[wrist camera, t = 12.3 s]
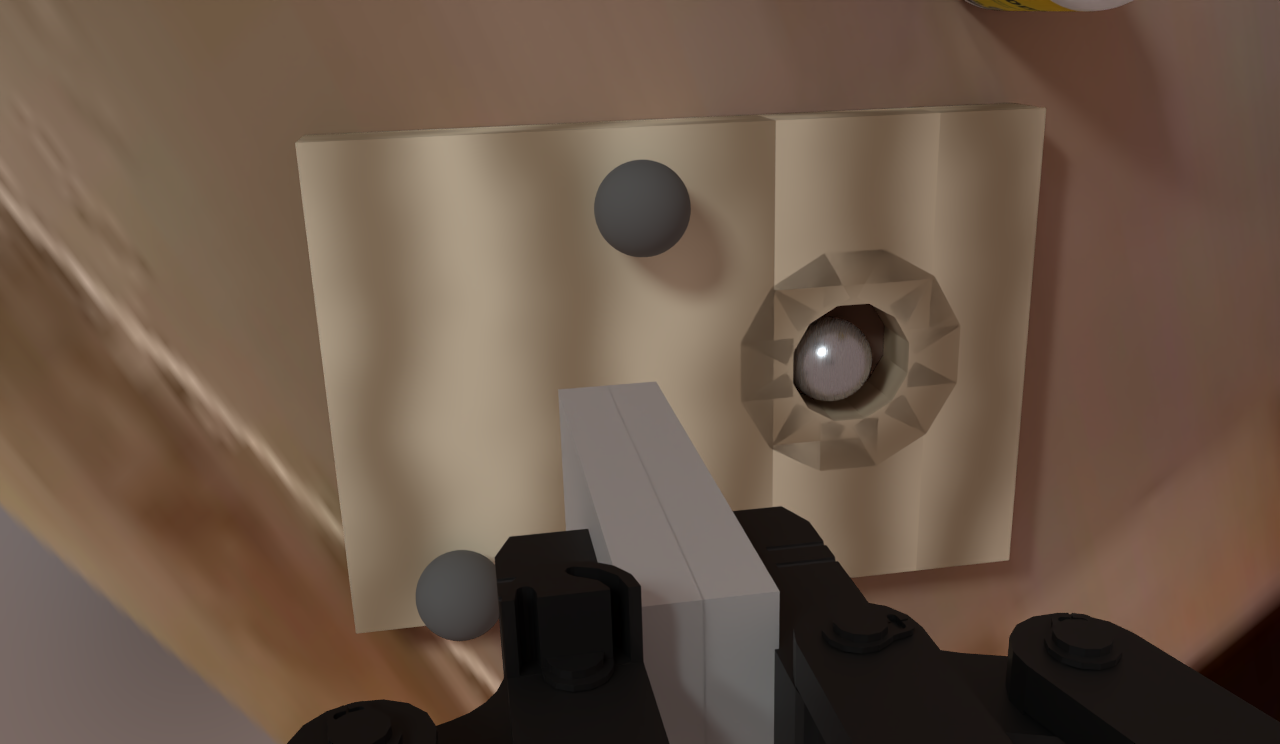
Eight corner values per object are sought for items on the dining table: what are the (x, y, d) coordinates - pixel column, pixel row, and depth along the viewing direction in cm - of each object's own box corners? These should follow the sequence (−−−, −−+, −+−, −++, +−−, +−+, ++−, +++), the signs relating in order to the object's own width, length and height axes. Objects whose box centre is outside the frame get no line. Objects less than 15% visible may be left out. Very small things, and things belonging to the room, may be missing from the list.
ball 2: (590, 250, 38) (603, 269, 35) (586, 156, 37) (599, 168, 34) (680, 244, 39) (700, 263, 36) (679, 151, 38) (699, 163, 35)
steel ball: (779, 411, 42) (864, 418, 41) (777, 331, 40) (866, 336, 39) (796, 379, 44) (876, 384, 43) (795, 303, 43) (878, 307, 42)
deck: (360, 600, 43) (356, 633, 41) (304, 135, 38) (295, 143, 36) (980, 533, 47) (1009, 560, 45) (1012, 102, 42) (1046, 107, 39)
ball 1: (420, 616, 41) (418, 663, 38) (412, 539, 40) (410, 581, 37) (506, 607, 42) (511, 652, 39) (500, 530, 41) (505, 571, 38)
